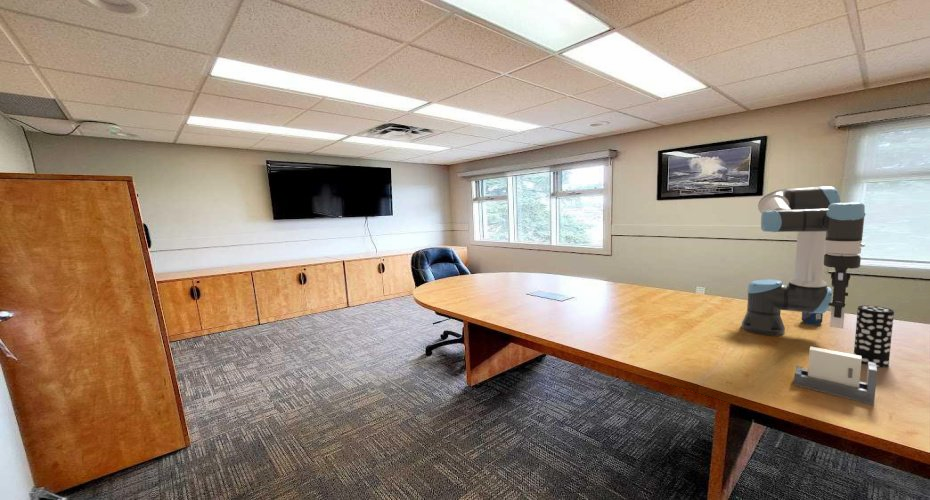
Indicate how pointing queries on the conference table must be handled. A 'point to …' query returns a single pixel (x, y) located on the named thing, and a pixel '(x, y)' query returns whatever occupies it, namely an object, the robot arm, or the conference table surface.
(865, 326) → the white-spotted black cylinder
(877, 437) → the conference table surface
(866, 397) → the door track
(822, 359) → the door panel
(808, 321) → the soda can
